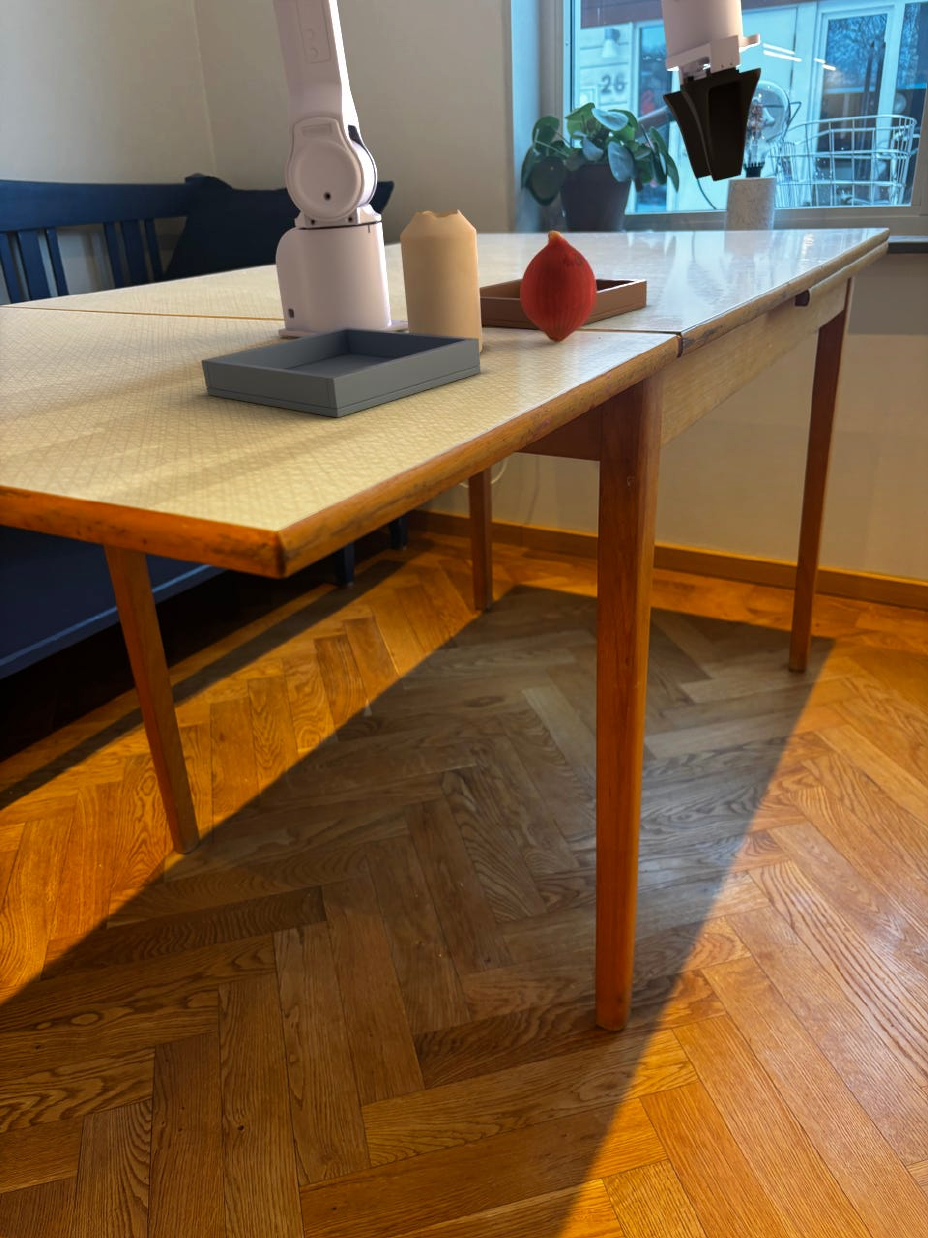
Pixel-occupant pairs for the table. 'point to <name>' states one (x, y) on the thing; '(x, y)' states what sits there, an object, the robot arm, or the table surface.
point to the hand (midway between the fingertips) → (717, 176)
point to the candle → (441, 275)
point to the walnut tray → (611, 300)
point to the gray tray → (341, 369)
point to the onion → (558, 289)
